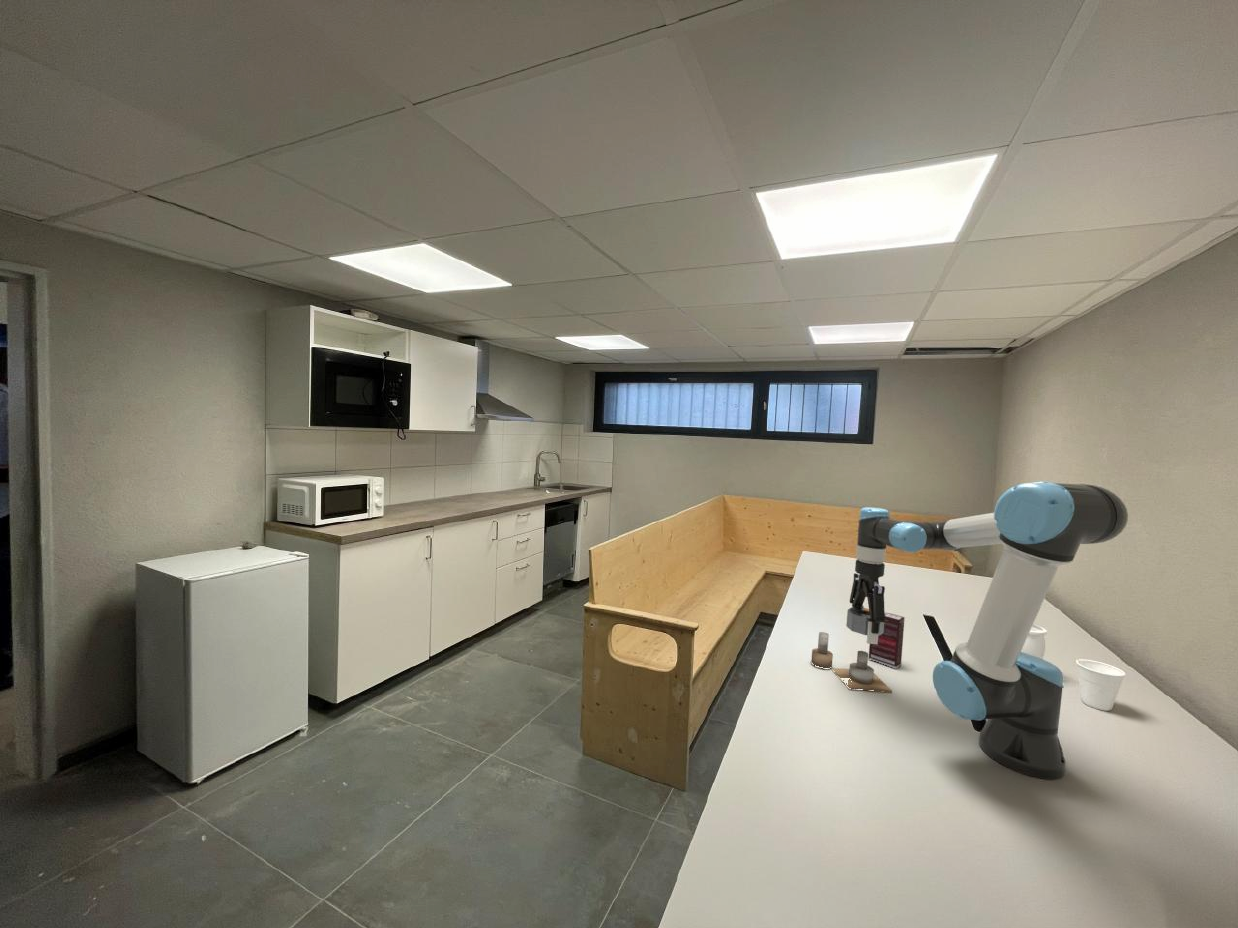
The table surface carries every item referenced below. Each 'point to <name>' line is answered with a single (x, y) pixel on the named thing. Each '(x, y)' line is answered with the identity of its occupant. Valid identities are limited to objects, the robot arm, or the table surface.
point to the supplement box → (889, 642)
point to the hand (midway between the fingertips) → (863, 636)
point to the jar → (1035, 642)
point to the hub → (862, 675)
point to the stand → (822, 652)
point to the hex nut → (860, 620)
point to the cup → (1099, 683)
